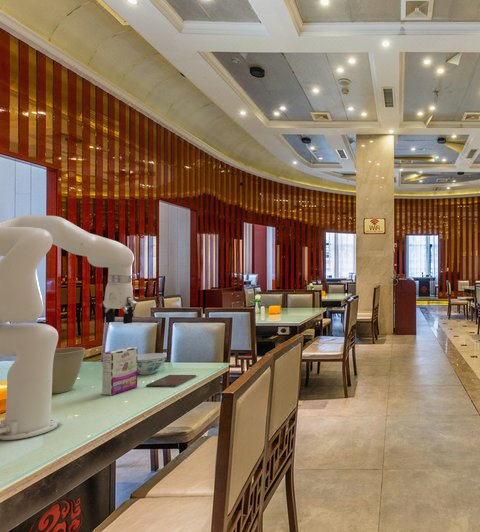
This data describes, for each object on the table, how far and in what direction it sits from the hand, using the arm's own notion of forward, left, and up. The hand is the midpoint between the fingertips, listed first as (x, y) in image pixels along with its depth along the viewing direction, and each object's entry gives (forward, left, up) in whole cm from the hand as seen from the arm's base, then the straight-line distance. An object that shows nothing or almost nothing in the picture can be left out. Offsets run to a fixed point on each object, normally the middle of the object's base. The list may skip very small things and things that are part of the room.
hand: (118, 322), depth 149 cm
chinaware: (+24, +14, -27) cm, 39 cm away
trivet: (+17, -9, -27) cm, 33 cm away
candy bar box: (0, -2, -27) cm, 27 cm away
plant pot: (-8, +20, -27) cm, 35 cm away
